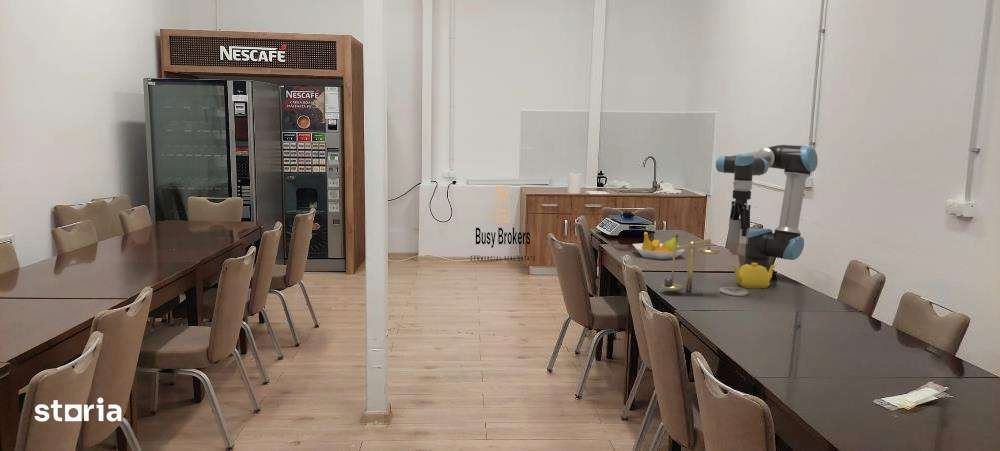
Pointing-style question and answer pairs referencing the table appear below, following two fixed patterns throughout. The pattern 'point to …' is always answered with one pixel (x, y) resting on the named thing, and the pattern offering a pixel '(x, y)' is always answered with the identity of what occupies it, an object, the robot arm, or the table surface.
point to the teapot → (753, 276)
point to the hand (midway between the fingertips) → (737, 241)
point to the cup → (735, 231)
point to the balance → (688, 269)
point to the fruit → (658, 248)
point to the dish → (733, 291)
